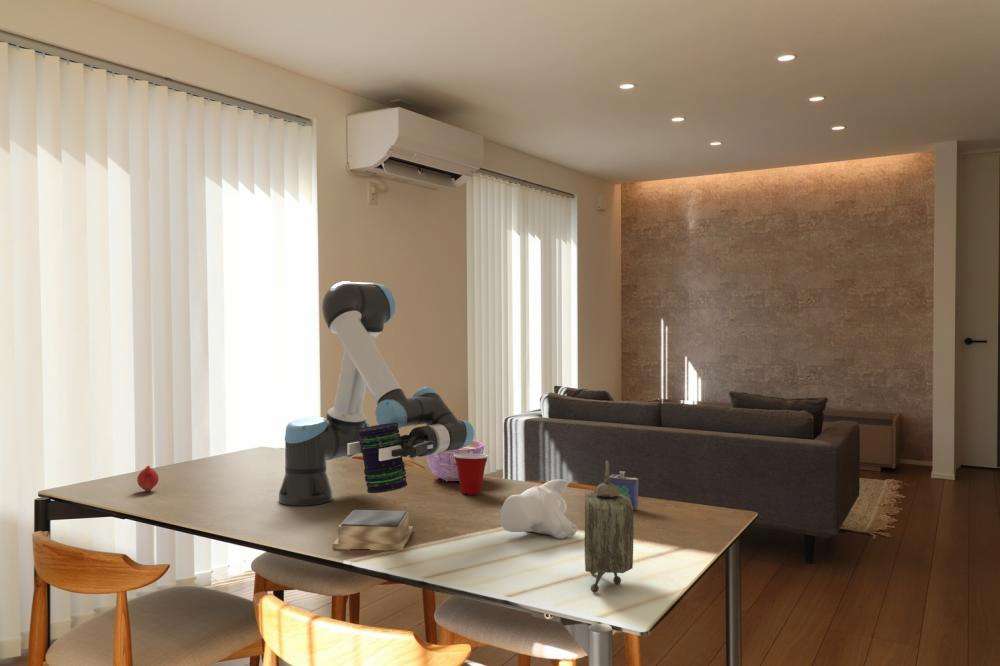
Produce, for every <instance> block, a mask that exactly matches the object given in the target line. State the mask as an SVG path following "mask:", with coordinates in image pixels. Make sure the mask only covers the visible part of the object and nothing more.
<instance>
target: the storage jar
mask: <svg viewBox="0 0 1000 666" xmlns="http://www.w3.org/2000/svg"><path fill="white" fill-rule="evenodd" d="M399 429H400V428H399ZM399 429H398V423H389V424H381V425H379V424H376V425H371V426H370V425H369V427H366V428H362V429H359V430H358V433H359V439H360V441H359V443H360V446H361V453H360V454H362V458H363V459H362V460H363V465H364V468H363V472H364V475H365V476H364V481H365V482H366V483H365V484H366V487H367V489H366V491H367V493H368V494H381V493H382V494H383V493H388V492H393V491H396V490H401V489H403V488H406V487H407V486H408V482H407V475H406V474H407V471H406V466H405V462H404V461H403V457H402V456H401V457H399V458H394V459H389V460H384V461H379V449H382V448H387V447H392V446H398V445H400V446H401V440H399V439H400V438H401V437H400V436H401V434H400V430H399Z"/></svg>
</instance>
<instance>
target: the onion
mask: <svg viewBox="0 0 1000 666" xmlns="http://www.w3.org/2000/svg"><path fill="white" fill-rule="evenodd" d="M136 481H137V485H138V487H140V488H141V489H142V490H144V491H145V492H151V490H153V489H154V488H155V486H156V485H158V483H159V475H158V472H157V471H156V470H154V469H153V468H151V465H150V464H148V465H147V466H146V467H145V468H143V469H142V470H141V471H140V472H139V474H138V475H137V479H136Z"/></svg>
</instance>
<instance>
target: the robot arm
mask: <svg viewBox="0 0 1000 666" xmlns="http://www.w3.org/2000/svg"><path fill="white" fill-rule="evenodd" d="M321 309H322V316H323V318H324V323H325V324H326V326H327V328H328V329H329V330H330V332H331V333H332V334H333V335H336V336H337V337H338V339H339V341H340V342H341V345H342V347H344V349H343V356H342V361H341V364H340V365H341V366H340V371H339V378H338V382H337V389H336V393H335V399H334V405H333V406H332V407H331V408H329V409H328V410H327V413H326V418H325V417H322V416H311V417H301V418H298V419H295V420H292V421H291V422H288V424H287V425H286V427H285V433H284V434H285V436H284V442H285V443H284V444H285V445H284V448H285V449H284V450H285V452H284V454H285V455H284V457H285V458H284V459H285V460H284V461H285V462H284V463H285V464H284V470H285V471H284V477H283V480H282V483H281V486H280V489H279V492H278V503H280V504H282V505H285V506H286V505H287V506H296V507H297V506H299V507H300V506H301V507H304V506H307V507H308V506H315V505H316V506H317V505H321V504H326V503H329V502H331V501H332V500H333V489H332V486H331V482H330V480H329V476H328V474H327V461H330V460H337V459H341V458H349V457H350V458H351V457H353V456H356V455H360V454H362V453H361V446H360V443H359V441H360V439H359V433H358V430H359V429H362V428H366V427H370V424H369V422H368V421H367V415H366V414H365V413H364V411H363V409H364V403H365V398H366V392H367V389H368V390H369V392H370V395H372V397H373V399H374V401H375V402H376V404H377V405H376V407H375V413H374V415H375V418H376V419H375V420H376V422H377V425H381V424H389V423H398V429H402V428H406V427H411V426H414V428H413V429H411V431H410V432H409V434H402V435H400V437H401V438H400V439H399V440H401V446H400V445H398V446H392V447H387V448H382V449H379V461H384V460H389V459H394V458H399V457H401V456H402V458H407V457H409V458H411V459H413V458H416V457H418V458H419V457H421V458H422V457H427V455H431V454H434V455H437V453H440V452H445V451H450V450H458V449H460V448H464V447H467V446H469V445H470V444H471V443H472V441H474V439H475V438H474V437H475V430H474V426H473V425H472V423H471V422H469V421H467V420H465V419H458V418H457V417H456V415H455V414H454V413H453V411H452V410H451V409H450V408H449V406H448V405H447V404H446V403H445V401H444V400H443V399H442V396H440V394H439V393H438V392H436V390H435V389H434V388H432V387H431V386H424V387H422V388H420V389H417V390H416V391H415V392H414V393H413V394H412V396H410V397H407V395H406V394H405V391H403V389H402V387H401V385H400V384H399V382H398V381H397V379H396V377H395V375H394V373H393V372H392V371H391V369H390V367H389V365H388V364H387V362H386V360H385V358H384V357H383V355H382V353H381V352H380V350H379V349H378V347H377V345H376V341H377V337H378V335H380V334H381V333H383V331H384V326H385V324H387V323H389V322H390V321H391V320H392V319H393V317H394V316H395V313H396V301H395V297H394V295H393V294H392V291H391V290H390V289H389V288H388V287H387V286H386V285H384V284H379V283H375V282H355V281H353V282H351V281H341V282H338V283H335V284H334V285H331V287H330V288H329V289H328V290H327V291H326V293H324V296H323V298H322V306H321ZM420 425H423V426H420ZM415 426H418V427H415Z"/></svg>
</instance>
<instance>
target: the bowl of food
mask: <svg viewBox="0 0 1000 666" xmlns="http://www.w3.org/2000/svg"><path fill="white" fill-rule="evenodd" d="M485 445H486V444H485V443H483V442H482V441H477V440H473V441H472V443H471V444H470V445H469V446H467V447H464V448H460V449H458V450H450V451H445V452H440V453H437V455H434V454H431V455H427V456H426V460H427V464H428V467H429V470H430V471H431V473H432V474H433V475H434V476H436V477H437V478H441V480H442V479H443V480H442V481H444V480H447V481H446V482H448V481H459V477H458V470H457V465H456V460H455V457H454V455H455V454H484V450H485Z"/></svg>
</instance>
